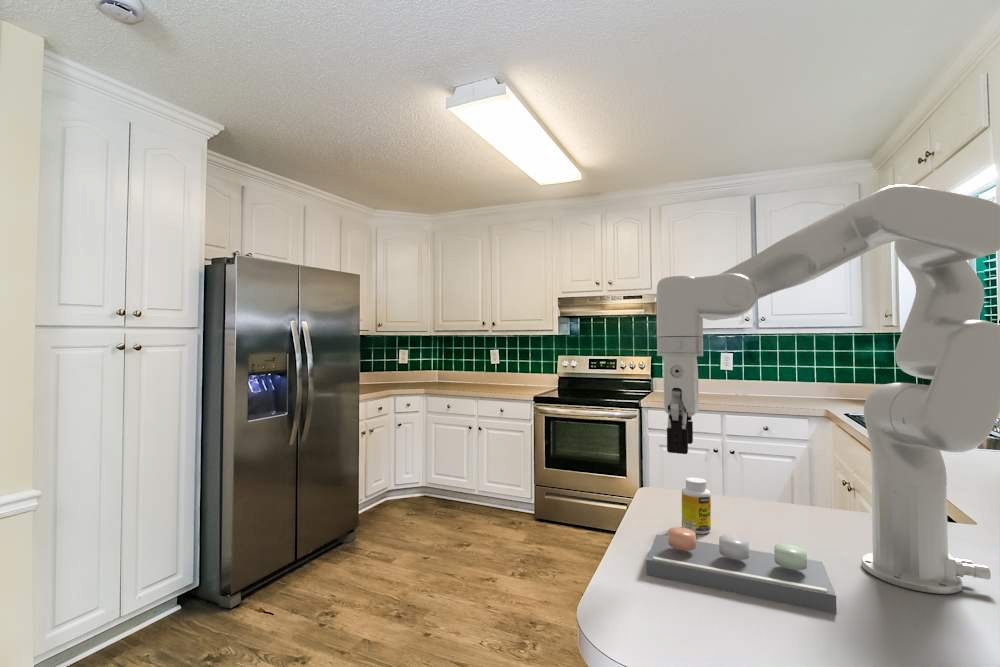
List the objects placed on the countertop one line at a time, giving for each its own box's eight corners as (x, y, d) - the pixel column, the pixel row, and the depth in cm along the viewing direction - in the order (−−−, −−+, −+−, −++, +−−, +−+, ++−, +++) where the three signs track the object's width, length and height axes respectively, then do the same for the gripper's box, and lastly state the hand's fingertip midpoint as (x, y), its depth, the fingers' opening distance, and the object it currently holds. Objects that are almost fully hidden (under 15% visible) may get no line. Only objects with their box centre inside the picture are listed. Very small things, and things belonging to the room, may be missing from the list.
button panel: (822, 577, 79) (822, 560, 79) (836, 613, 68) (836, 593, 68) (656, 547, 90) (656, 532, 90) (646, 575, 79) (646, 558, 79)
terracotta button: (696, 542, 84) (696, 529, 84) (694, 552, 80) (694, 538, 80) (670, 538, 86) (669, 525, 86) (666, 547, 82) (666, 534, 82)
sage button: (805, 560, 77) (804, 546, 77) (809, 572, 73) (808, 557, 73) (773, 555, 79) (773, 541, 79) (775, 566, 75) (775, 552, 75)
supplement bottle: (700, 537, 95) (699, 485, 96) (676, 528, 100) (675, 478, 100) (716, 531, 98) (716, 480, 99) (692, 523, 103) (692, 474, 103)
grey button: (748, 551, 80) (748, 537, 80) (749, 561, 76) (749, 547, 76) (719, 546, 82) (719, 533, 82) (718, 556, 78) (718, 542, 78)
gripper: (699, 347, 74) (700, 460, 74) (706, 347, 90) (706, 441, 89) (649, 347, 78) (649, 455, 77) (664, 347, 93) (664, 437, 93)
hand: (680, 447), depth 83 cm, fingers open, 8 cm apart
